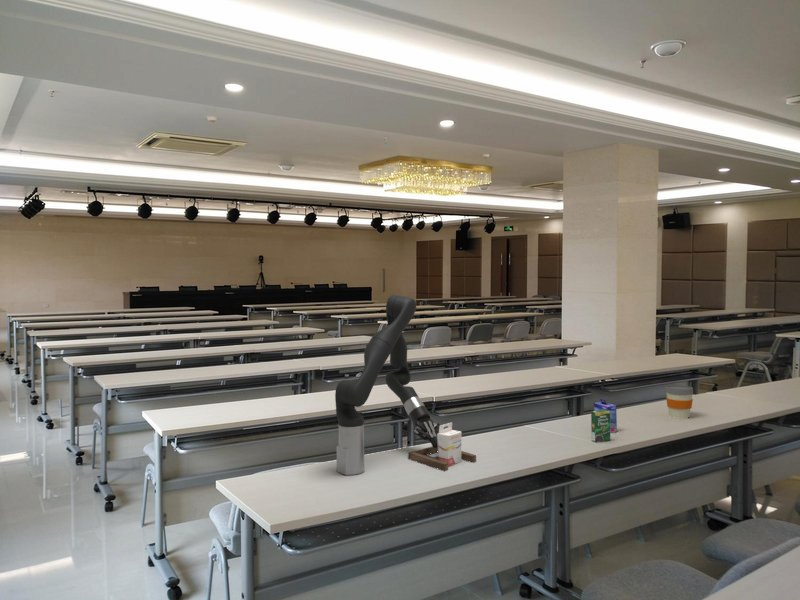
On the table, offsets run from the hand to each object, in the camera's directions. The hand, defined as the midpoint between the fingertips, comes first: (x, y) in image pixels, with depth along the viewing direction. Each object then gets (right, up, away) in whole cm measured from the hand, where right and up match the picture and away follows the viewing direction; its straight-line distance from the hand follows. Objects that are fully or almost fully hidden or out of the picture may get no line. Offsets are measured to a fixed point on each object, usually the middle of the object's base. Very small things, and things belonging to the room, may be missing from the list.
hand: (437, 447), depth 233 cm
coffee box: (+71, -4, +24) cm, 75 cm away
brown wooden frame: (+2, -5, -2) cm, 5 cm away
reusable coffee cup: (+125, -2, +67) cm, 142 cm away
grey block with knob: (+2, -5, -2) cm, 5 cm away
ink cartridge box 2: (+80, -3, +42) cm, 90 cm away
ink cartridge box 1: (+4, -5, -5) cm, 9 cm away
